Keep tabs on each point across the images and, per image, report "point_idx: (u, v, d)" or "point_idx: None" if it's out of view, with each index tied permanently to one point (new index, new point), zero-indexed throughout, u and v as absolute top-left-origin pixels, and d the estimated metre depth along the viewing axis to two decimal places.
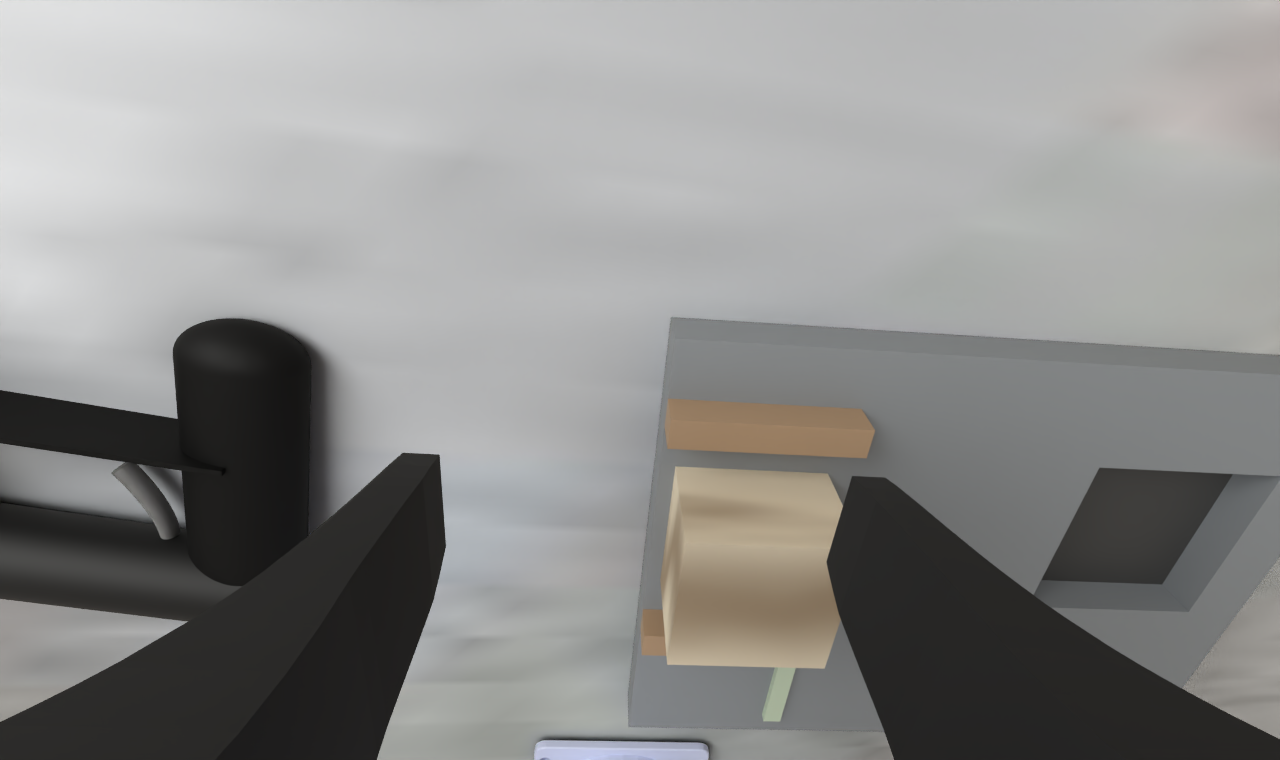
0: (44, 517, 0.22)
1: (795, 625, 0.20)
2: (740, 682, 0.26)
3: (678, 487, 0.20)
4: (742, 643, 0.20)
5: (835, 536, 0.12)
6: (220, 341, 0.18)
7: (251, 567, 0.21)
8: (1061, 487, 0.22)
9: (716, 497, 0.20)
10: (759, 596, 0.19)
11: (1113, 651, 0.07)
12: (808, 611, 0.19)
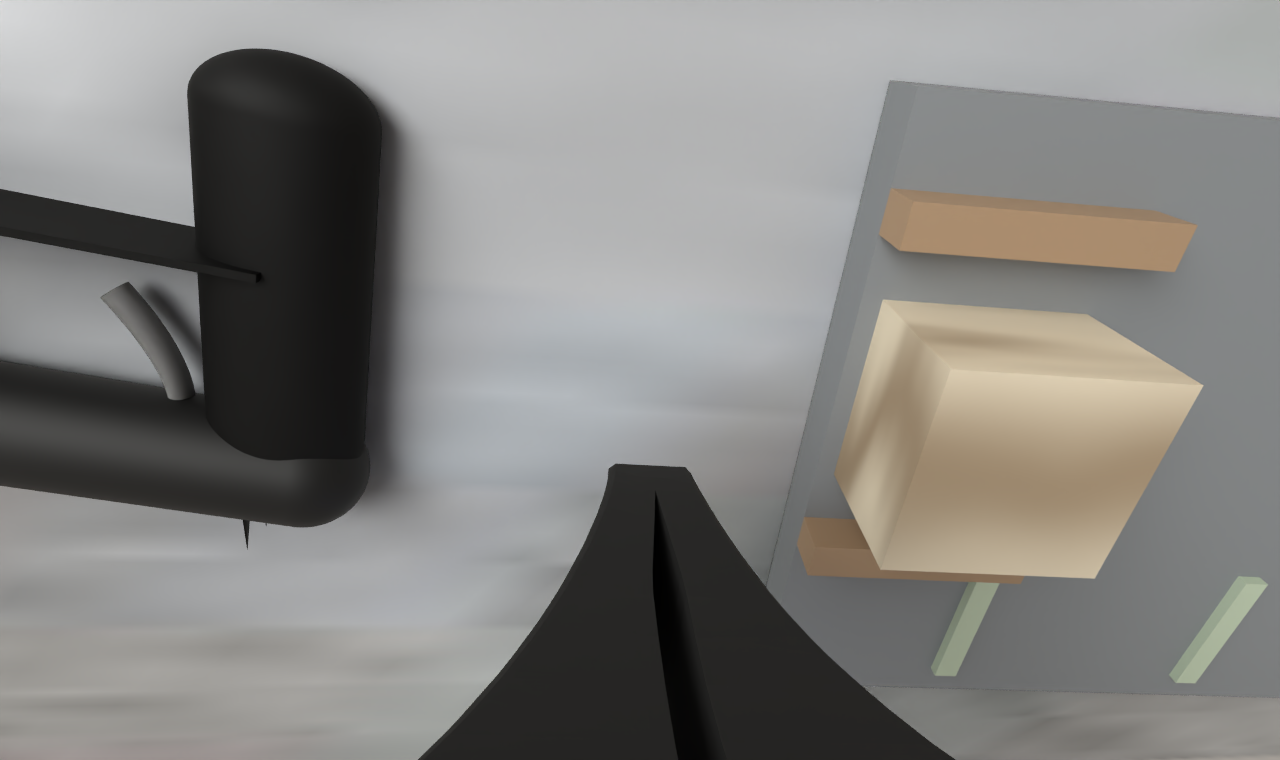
0: (9, 368, 0.16)
1: (1072, 509, 0.14)
2: (911, 623, 0.20)
3: (900, 318, 0.14)
4: (992, 536, 0.14)
5: None
6: (257, 66, 0.13)
7: (294, 431, 0.16)
8: None
9: (958, 328, 0.14)
10: (1035, 461, 0.13)
11: (810, 641, 0.07)
12: (1096, 487, 0.14)
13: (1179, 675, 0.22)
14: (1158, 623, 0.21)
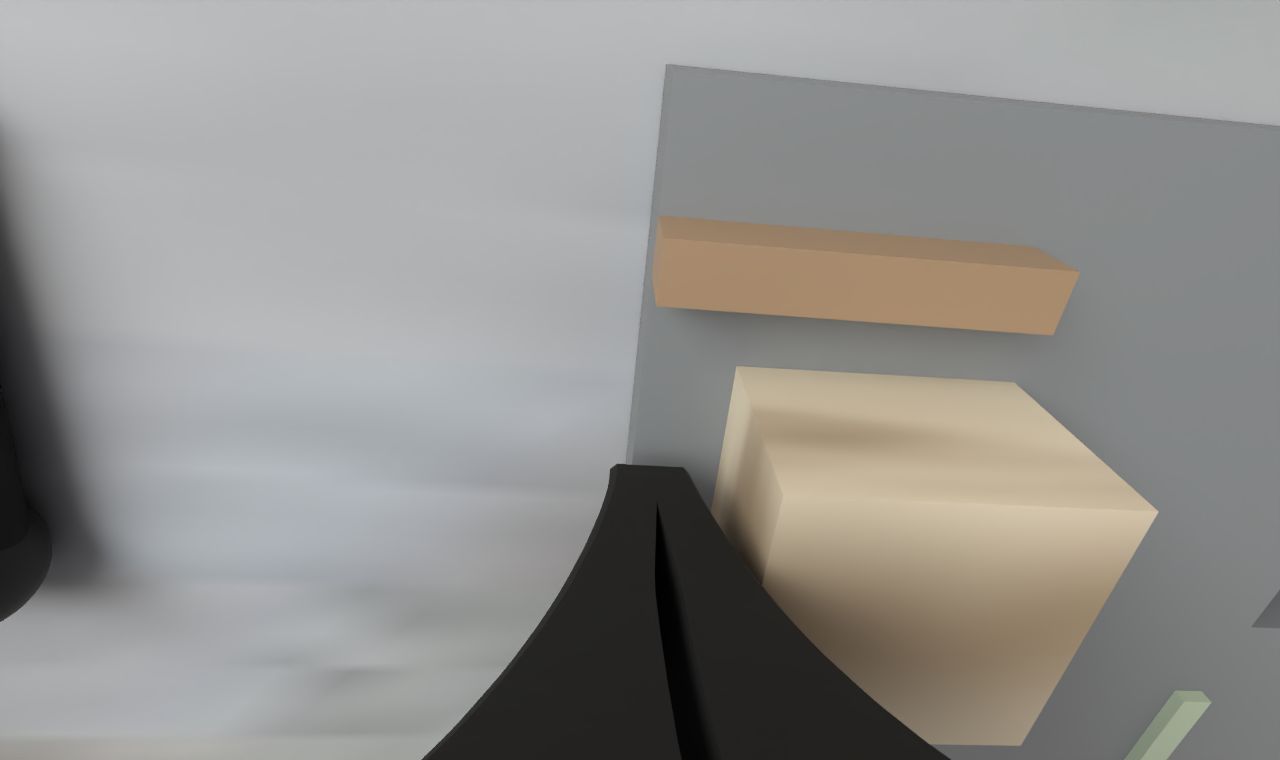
0: None
1: (981, 667, 0.10)
2: None
3: (747, 397, 0.10)
4: (875, 700, 0.10)
5: None
6: None
7: None
8: None
9: (824, 414, 0.10)
10: (923, 609, 0.09)
11: (806, 641, 0.07)
12: (1014, 640, 0.10)
13: None
14: (1080, 742, 0.17)
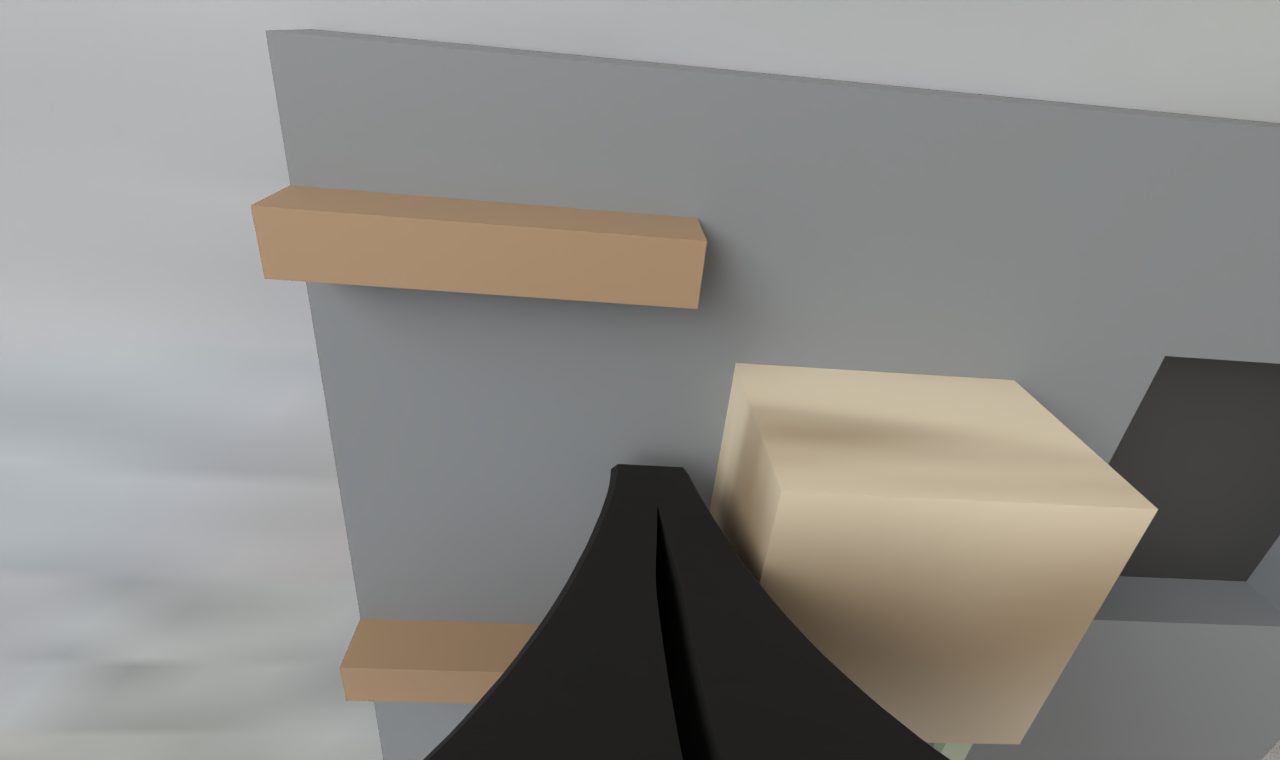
0: None
1: (980, 664, 0.10)
2: None
3: (746, 394, 0.10)
4: (873, 698, 0.10)
5: None
6: None
7: None
8: (1092, 396, 0.12)
9: (823, 411, 0.10)
10: (922, 606, 0.09)
11: (806, 641, 0.07)
12: (1013, 639, 0.10)
13: None
14: None
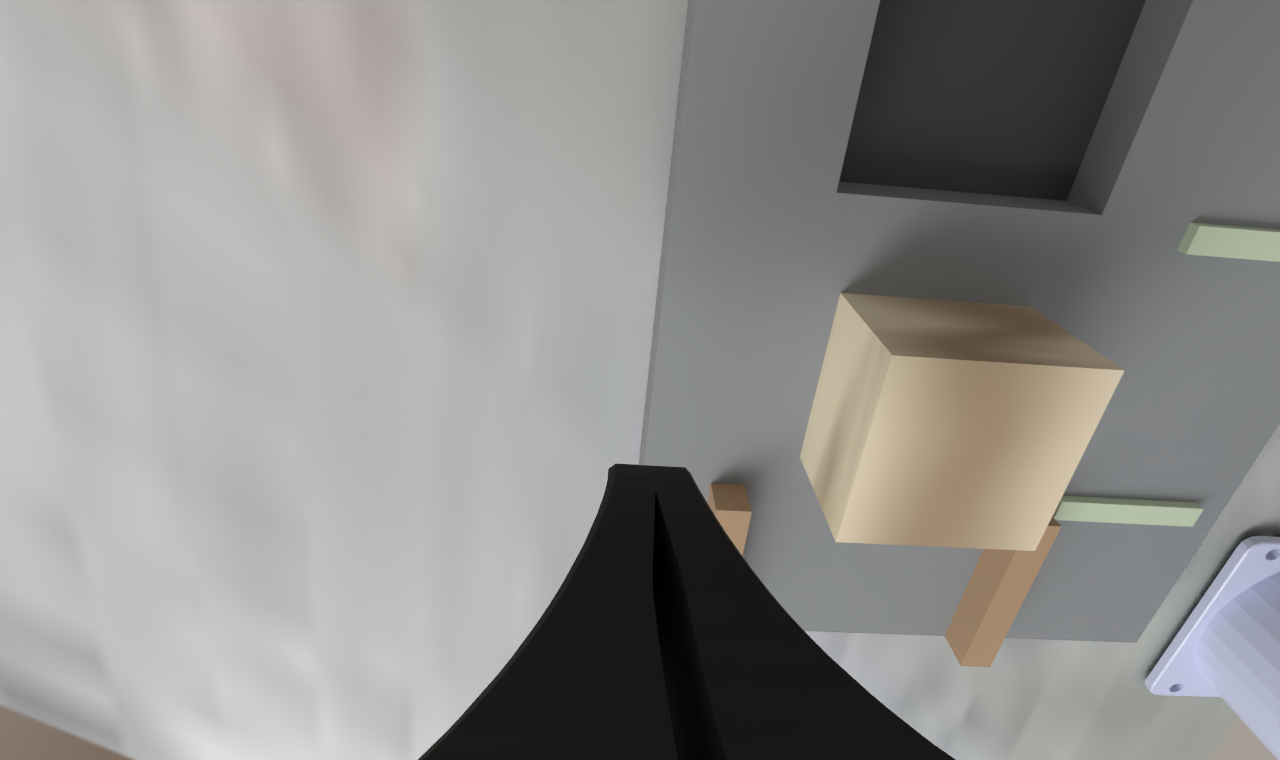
0: None
1: (1013, 419, 0.14)
2: (1108, 547, 0.21)
3: (810, 478, 0.18)
4: (1025, 476, 0.15)
5: None
6: None
7: None
8: (863, 235, 0.16)
9: (822, 454, 0.17)
10: (943, 464, 0.15)
11: (810, 641, 0.07)
12: (992, 406, 0.14)
13: None
14: (1224, 313, 0.17)
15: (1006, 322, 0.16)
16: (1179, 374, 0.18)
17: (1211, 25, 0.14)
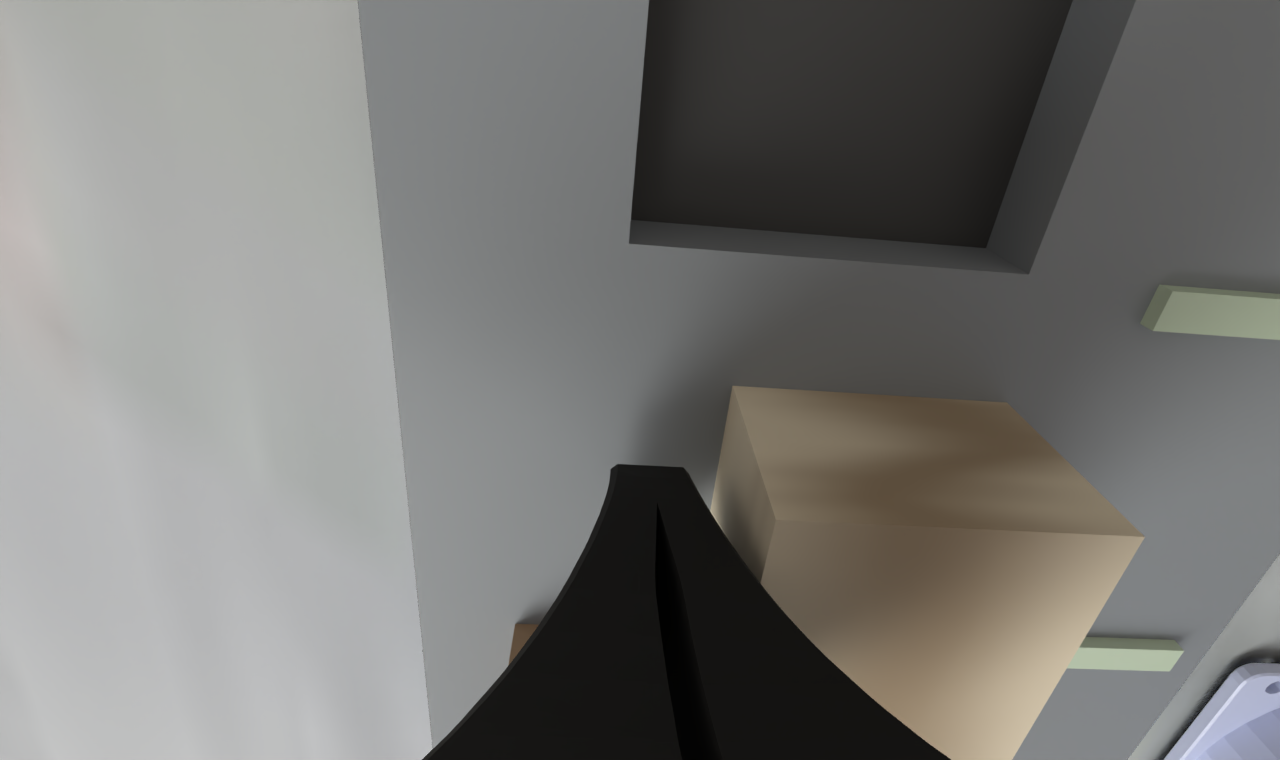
0: None
1: (973, 603, 0.09)
2: (1059, 692, 0.16)
3: None
4: (994, 673, 0.10)
5: None
6: None
7: None
8: (678, 304, 0.11)
9: None
10: (869, 661, 0.10)
11: (807, 641, 0.07)
12: (939, 586, 0.09)
13: None
14: (1210, 407, 0.12)
15: (967, 437, 0.11)
16: (1148, 485, 0.13)
17: None
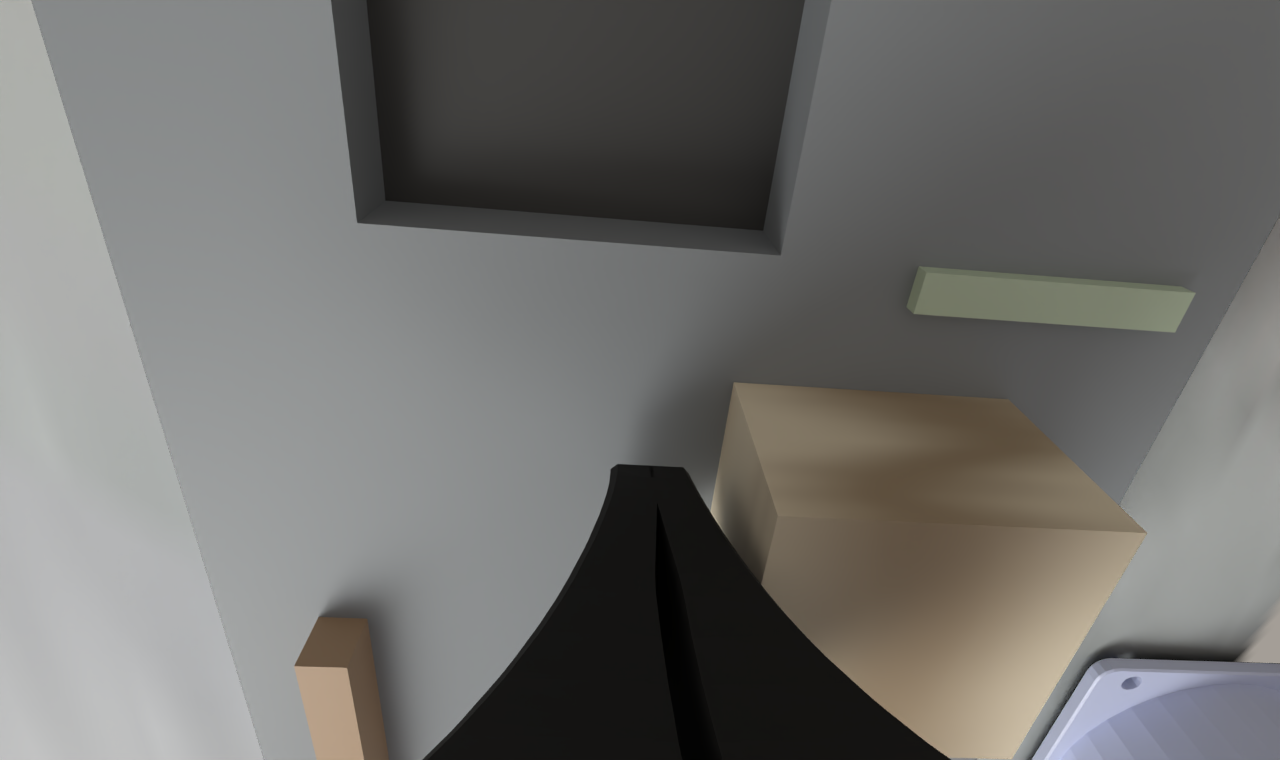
0: None
1: (976, 599, 0.09)
2: None
3: None
4: (996, 670, 0.10)
5: None
6: None
7: None
8: (421, 286, 0.10)
9: None
10: (870, 658, 0.10)
11: (806, 641, 0.07)
12: (941, 583, 0.09)
13: (1153, 330, 0.11)
14: (996, 394, 0.12)
15: (969, 433, 0.11)
16: None
17: None
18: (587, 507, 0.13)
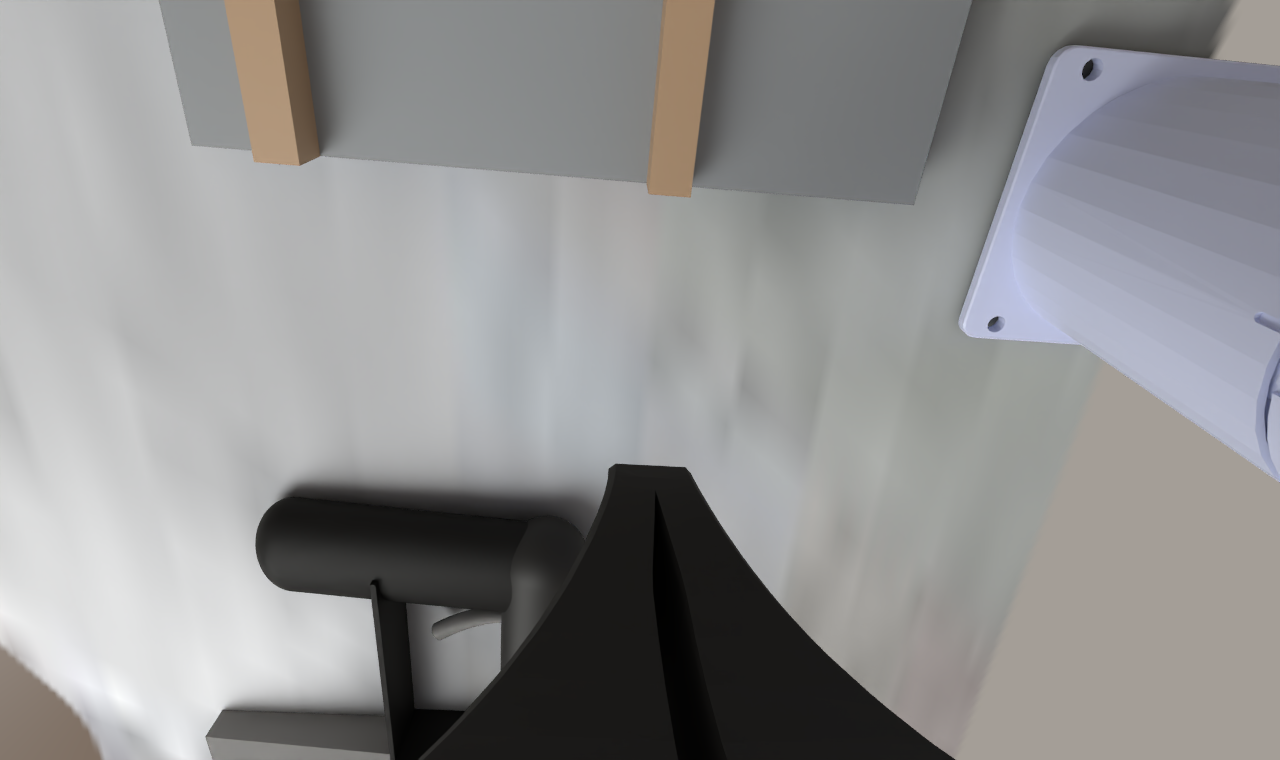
0: None
1: None
2: (840, 5, 0.15)
3: None
4: None
5: None
6: (259, 563, 0.22)
7: (487, 576, 0.22)
8: None
9: None
10: None
11: (810, 641, 0.07)
12: None
13: None
14: None
15: None
16: None
17: None
18: None
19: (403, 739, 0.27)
